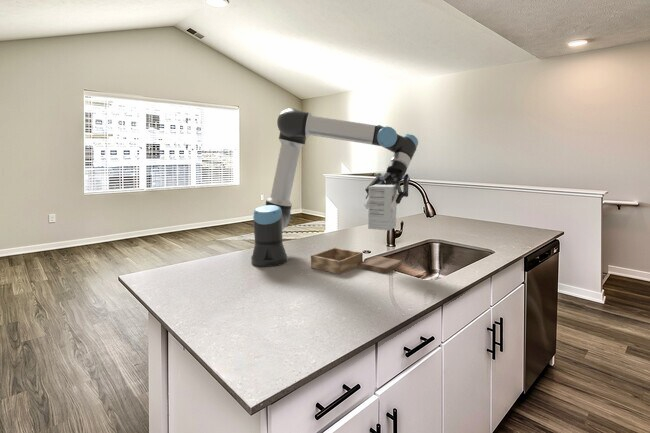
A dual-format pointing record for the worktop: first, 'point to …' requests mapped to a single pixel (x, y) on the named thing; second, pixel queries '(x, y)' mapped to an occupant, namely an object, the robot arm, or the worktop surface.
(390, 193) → the supplement box
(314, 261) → the wooden tray
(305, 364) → the worktop surface
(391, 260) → the walnut board
